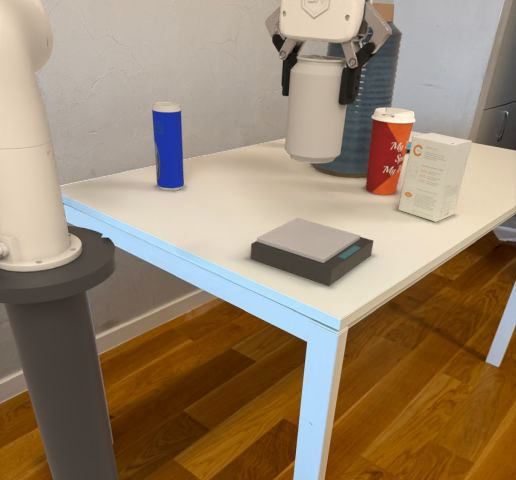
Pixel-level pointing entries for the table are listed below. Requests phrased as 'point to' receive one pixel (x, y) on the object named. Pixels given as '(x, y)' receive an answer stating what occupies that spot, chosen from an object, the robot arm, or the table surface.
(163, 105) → the beverage can
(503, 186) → the table surface
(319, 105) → the can
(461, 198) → the table surface
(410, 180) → the small box
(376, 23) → the robot arm
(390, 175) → the coffee cup
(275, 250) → the scale
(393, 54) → the vase
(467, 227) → the table surface
